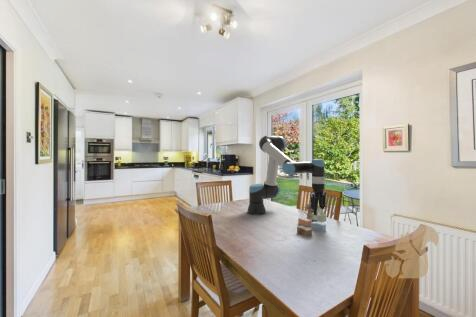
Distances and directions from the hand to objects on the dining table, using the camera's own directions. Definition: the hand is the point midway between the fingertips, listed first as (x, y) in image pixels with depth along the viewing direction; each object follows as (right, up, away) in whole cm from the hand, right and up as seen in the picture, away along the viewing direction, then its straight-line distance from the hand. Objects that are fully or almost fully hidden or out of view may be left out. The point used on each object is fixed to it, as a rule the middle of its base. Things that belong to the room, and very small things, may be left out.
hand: (318, 219), depth 140 cm
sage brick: (0, -1, 0) cm, 1 cm away
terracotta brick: (-6, -7, +10) cm, 13 cm away
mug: (+2, -6, +22) cm, 23 cm away
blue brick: (0, -7, 0) cm, 7 cm away
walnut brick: (-11, -7, -8) cm, 16 cm away
